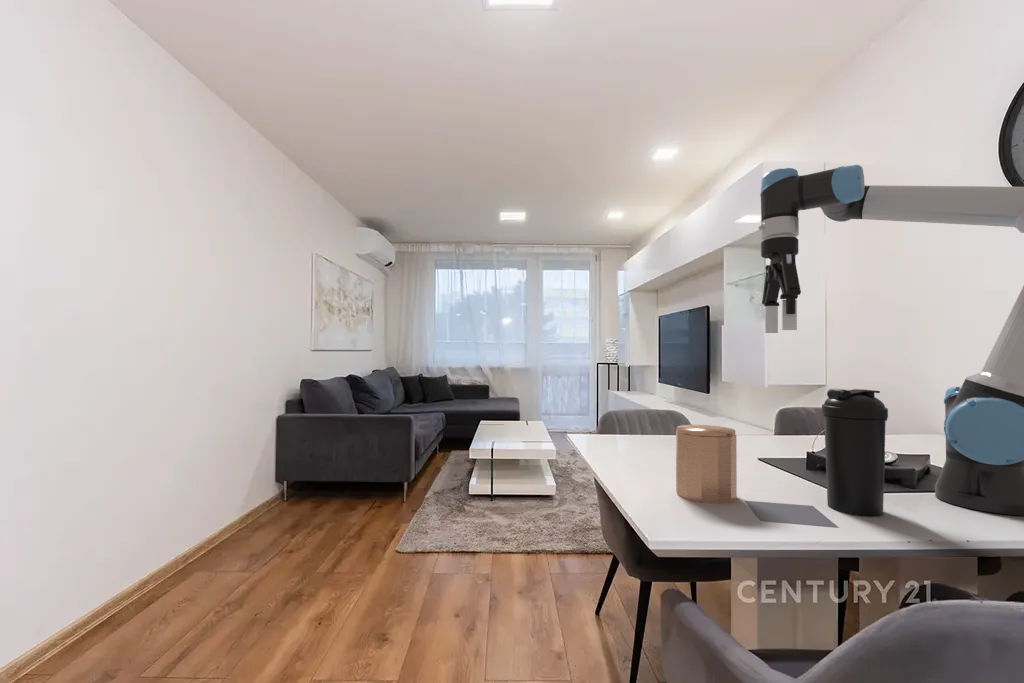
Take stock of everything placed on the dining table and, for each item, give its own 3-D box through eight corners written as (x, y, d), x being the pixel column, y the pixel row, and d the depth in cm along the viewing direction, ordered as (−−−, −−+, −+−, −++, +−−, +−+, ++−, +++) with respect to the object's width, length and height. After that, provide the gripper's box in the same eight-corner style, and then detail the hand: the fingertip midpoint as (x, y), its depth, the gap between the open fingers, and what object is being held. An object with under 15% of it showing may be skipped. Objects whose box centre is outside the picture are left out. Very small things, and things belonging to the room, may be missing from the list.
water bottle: (904, 520, 86) (902, 391, 86) (849, 521, 85) (848, 391, 85) (859, 503, 96) (858, 387, 96) (810, 503, 95) (809, 387, 96)
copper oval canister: (729, 491, 103) (729, 426, 103) (741, 508, 92) (740, 434, 92) (674, 487, 105) (674, 423, 106) (679, 503, 94) (679, 431, 95)
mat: (812, 508, 92) (812, 505, 92) (838, 530, 80) (839, 527, 80) (744, 503, 95) (744, 500, 95) (760, 523, 83) (760, 520, 83)
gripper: (748, 251, 123) (749, 333, 123) (777, 225, 99) (777, 328, 98) (781, 250, 121) (781, 333, 121) (818, 223, 97) (818, 328, 97)
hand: (779, 331), depth 110 cm, fingers open, 13 cm apart
